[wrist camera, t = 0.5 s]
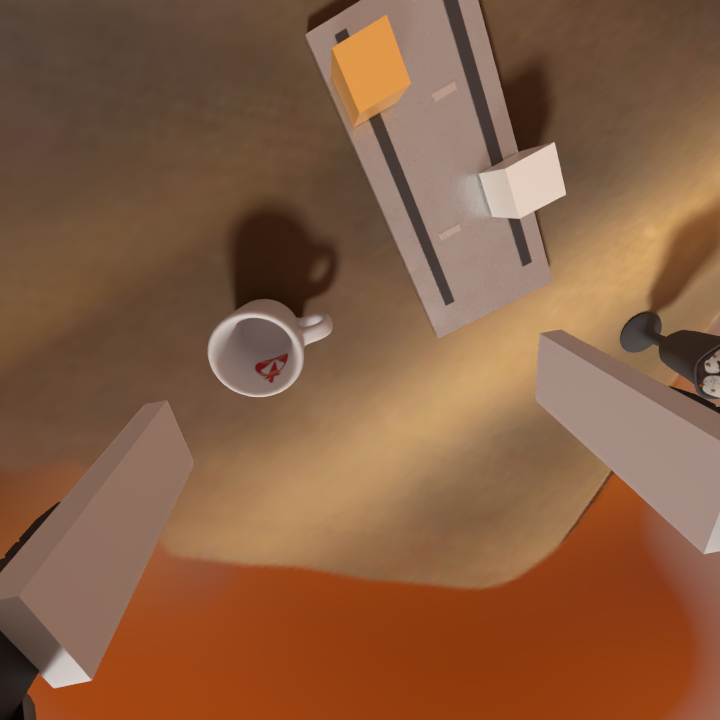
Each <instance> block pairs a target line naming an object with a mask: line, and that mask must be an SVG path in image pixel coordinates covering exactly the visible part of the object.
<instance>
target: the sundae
mask: <svg viewBox="0 0 720 720" xmlns="http://www.w3.org/2000/svg"><path fill="white" fill-rule="evenodd" d="M661 327H662V325H661V321H660V318H659V317H658V316H657V315H655V314H653V313H643V314H640V315H638V316H636V317H634V318H633V319H631V320H630V321H629V322H628V323H627V324H626V325H625V327H624V329H623V331H622V333H621V345H622V347H623V348H624V349H625V350H626V351H628V352H634V353H635V352H640V351H643V350H645V349H647V348H648V347H650V346H651V345H652V344H655V345H657V346H659V355H660V359H661V360H662V362H663V363H665V364H666V365H667V366H668V367H670V368H671V369H672V370H674V371H675V372H677V373H679V374H680V375H682V376H683V377H685V378H687V379H688V380H689V381H691V382H692V383H693V384H695V388H696V391H697V393H698V395H699V396H700V397H702V398H706V399H720V336H715V335H710V334H706V333H701V332H696V331H688V330H681V331H678V332H675V333H673V334H670V335H669V336H667V337H665V336H662V335H660V333H661Z"/></svg>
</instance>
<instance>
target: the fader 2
mask: <svg viewBox="0 0 720 720" xmlns="http://www.w3.org/2000/svg"><path fill="white" fill-rule="evenodd" d="M479 176H480V179H481V182H482V186H483V189H484V192H485V195H486V198H487V202H488V205H489V208H490V211H491V214H492V217H501V218H516V219H520V218H522V217H524V216H526V215H528V214H530V213H531V212H533V211H535V210H537V209H539V208H541V207H543V206H545V205H547V204H549V203H551V202H552V201H554V200H556V199H558V198H560V197H562V196H564V195H566V191H565V187H564V182H563V178H562V173H561V169H560V164H559V160H558V155H557V151H556V147H555V142H553V143H549V144H545V145H542V146H538V147H534V148H530V149H527V150H523V151H520V152H518V153H516V154H514V155H513V156H511V157H509V158H507V159H505V160H503V161H501V162H500V163H498V164H496V165H494V166H492V167H490V168H489V169H487V170H485V171H483V172H481V173H479Z"/></svg>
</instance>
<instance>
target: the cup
mask: <svg viewBox="0 0 720 720" xmlns="http://www.w3.org/2000/svg"><path fill="white" fill-rule="evenodd" d="M332 328H333V324H332V321H331V318H330V316H329V315H328V314H326V313H315V314H312V315H308V316H305V317H302V318H297V317H296V316H295V315H294V313H293V312H292V311H291V310H290V309H289V308H288V307H287V306H285V305H284V304H282V303H280V302H278V301H275V300H270V299H259V300H254V301H251V302H249V303H247V304H245V305H244V306H242V307H241V308H239V309H238V310H236V311H235V312H233V313H232V314H230V315H229V316H227V317H226V318H224V319H223V320H222V321H221V322H220V323H219V324H218V325H217V326H216V327H215V329H214V330H213V332H212V334H211V336H210V339H209V343H208V358H209V363H210V365H211V368H212V370H213V372H214V373H215V375H216V376H217V377H218V379H219V380H220V381H221V382H222V383H223V384H224V385H226V386H227V387H228V388H230V389H232V390H233V391H235V392H238V393H240V394H243V395H247V396H252V397H265V396H271V395H274V394H277V393H279V392H282V391H283V390H285V389H287V388H288V387H289V386H290V385H291V384H293V382H294V381H295V380H296V379H297V377H298V376H299V374H300V372H301V369H302V366H303V361H304V347H305V346H306V345H307V344H309V343H312V342H315V341H317V340H320V339H322V338H324V337H326V336H327V335H329V334H330V332H331V331H332Z"/></svg>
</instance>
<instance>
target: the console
mask: <svg viewBox="0 0 720 720" xmlns="http://www.w3.org/2000/svg"><path fill="white" fill-rule="evenodd" d="M385 15H387V17H388V20H389V22H390V25H391V28H392V31H393V34H394V37H395V39H396V42H397V45H398V48H399V51H400V54H401V56H402V59H403V62H404V65H405V68H406V71H407V73H408V76H409V79H410V82H411V84H410V86H409V87H408V88H407V90H406V91H405V92H404V94H403V95H402V96H401V98H400V99H399V100H398V102H397V103H395V104H393V105H392V106H390V107H388V108H387V109H385V110H383V111H381V112H380V113H378V114H376V115H374V116H373V117H371V118H369V119H367V120H366V121H364V122H362V123H361V124H359V125H357V126H355V127H354V128H353V126H352V123H351V121H350V119H349V116H348V114H347V112H346V109H345V107H344V105H343V102H342V100H341V98H340V95H339V93H338V91H337V88H336V86H335V84H334V81H333V79H332V77H331V74H330V68H331V54H332V47H334V46H336V45H337V44H339V43H341V42H342V41H344V40H346V39H347V38H349V37H351V36H352V35H354V34H356V33H357V32H359V31H360V30H362V29H364V28H365V27H367V26H369V25H370V24H372V23H374V22H375V21H377V20H379V19H380V18H382V17H384V16H385ZM305 38H306V44H307V46H308V49H309V51H310V53H311V55H312V58H313V60H314V62H315V64H316V67H317V69H318V71H319V74H320V76H321V78H322V80H323V83H324V85H325V87H326V89H327V92H328V94H329V96H330V98H331V101H332V103H333V105H334V108H335V110H336V112H337V114H338V117H339V119H340V121H341V123H342V126H343V128H344V130H345V133H346V135H347V137H348V139H349V142H350V144H351V146H352V148H353V151H354V153H355V155H356V157H357V160H358V162H359V164H360V167H361V169H362V171H363V173H364V176H365V178H366V180H367V182H368V185H369V187H370V189H371V191H372V194H373V196H374V198H375V201H376V203H377V205H378V207H379V210H380V212H381V214H382V216H383V219H384V221H385V223H386V226H387V228H388V230H389V232H390V235H391V237H392V239H393V241H394V244H395V246H396V248H397V250H398V253H399V255H400V257H401V260H402V262H403V264H404V266H405V269H406V271H407V273H408V275H409V278H410V280H411V282H412V284H413V287H414V289H415V291H416V294H417V296H418V298H419V300H420V303H421V305H422V307H423V309H424V312H425V314H426V316H427V318H428V321H429V323H430V325H431V328H432V330H433V332H434V334H435V335H436V336H437V338H440V337H442V336H444V335H446V334H448V333H450V332H452V331H454V330H456V329H458V328H460V327H462V326H464V325H466V324H468V323H470V322H472V321H474V320H476V319H478V318H480V317H482V316H484V315H486V314H488V313H490V312H492V311H494V310H496V309H498V308H500V307H502V306H504V305H506V304H508V303H510V302H512V301H514V300H516V299H518V298H520V297H522V296H524V295H526V294H528V293H530V292H532V291H534V290H536V289H538V288H540V287H542V286H544V285H546V284H548V283H550V282H552V277H551V274H550V270H549V266H548V262H547V258H546V255H545V251H544V247H543V243H542V240H541V236H540V232H539V228H538V224H537V221H536V217H535V213H534V211H533V212H531V213H530V214H528V215H526V216H524V217H522V218H520V219H516V218H501V217H492V214H491V211H490V208H489V205H488V202H487V198H486V195H485V192H484V189H483V186H482V182H481V179H480V176H479V173H481V172H483V171H485V170H487V169H489V168H490V167H492V166H494V165H496V164H498V163H500V162H501V161H503V160H505V159H507V158H509V157H511V156H513V155H514V154H516V153H518V149H517V145H516V141H515V137H514V134H513V130H512V126H511V122H510V118H509V115H508V111H507V107H506V103H505V99H504V96H503V92H502V88H501V84H500V81H499V77H498V73H497V69H496V65H495V62H494V58H493V54H492V50H491V47H490V43H489V39H488V35H487V31H486V28H485V24H484V20H483V16H482V12H481V9H480V5H479V1H478V0H360V1H359V2H357V3H355V4H354V5H352V6H351V7H349V8H347V9H346V10H344V11H342V12H341V13H339V14H338V15H336V16H334V17H333V18H331V19H329V20H328V21H326V22H325V23H323V24H321V25H320V26H318V27H316V28H315V29H313V30H312V31H310V32H308V33H307V34H305Z"/></svg>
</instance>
